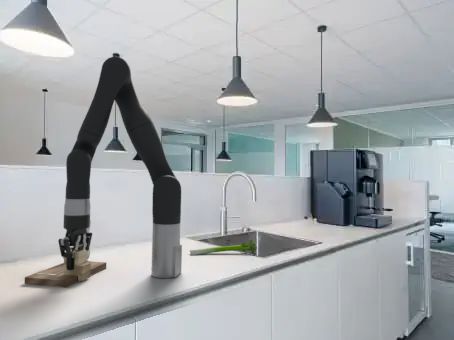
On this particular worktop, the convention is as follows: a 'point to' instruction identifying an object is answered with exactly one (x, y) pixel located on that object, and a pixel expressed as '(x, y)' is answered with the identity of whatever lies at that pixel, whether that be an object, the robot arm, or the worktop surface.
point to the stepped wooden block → (79, 265)
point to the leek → (226, 248)
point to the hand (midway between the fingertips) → (75, 267)
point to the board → (60, 275)
